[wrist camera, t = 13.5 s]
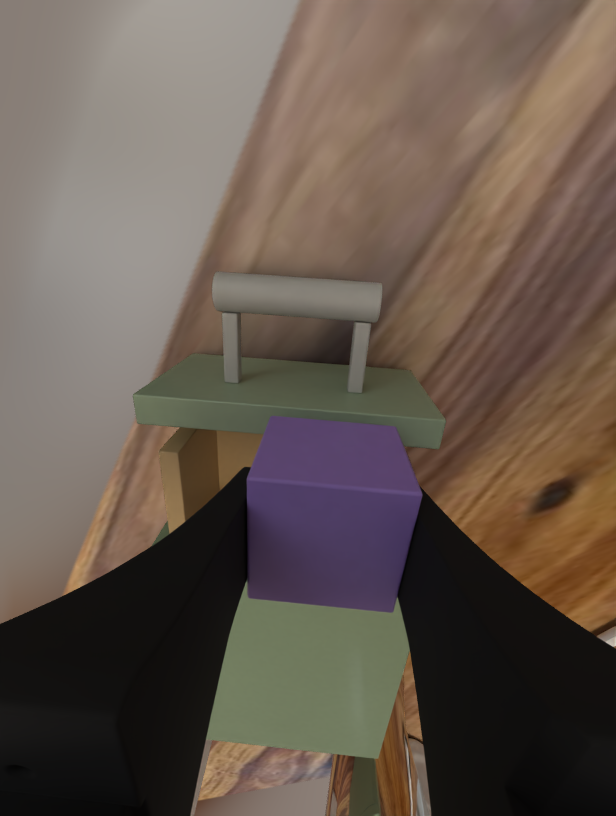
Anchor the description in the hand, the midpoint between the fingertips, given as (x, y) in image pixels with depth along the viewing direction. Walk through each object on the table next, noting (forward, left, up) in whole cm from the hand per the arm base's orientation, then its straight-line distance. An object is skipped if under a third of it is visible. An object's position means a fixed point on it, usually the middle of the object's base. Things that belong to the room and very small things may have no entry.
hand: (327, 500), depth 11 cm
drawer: (+2, +2, -8) cm, 8 cm away
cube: (0, 0, -1) cm, 1 cm away
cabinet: (+2, +12, -9) cm, 15 cm away
